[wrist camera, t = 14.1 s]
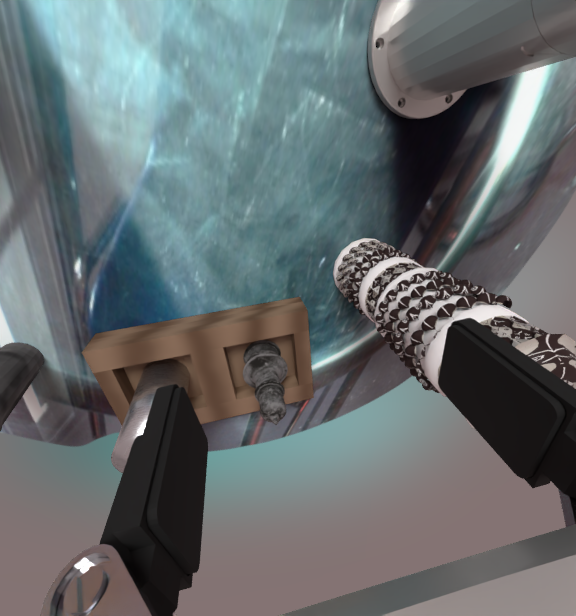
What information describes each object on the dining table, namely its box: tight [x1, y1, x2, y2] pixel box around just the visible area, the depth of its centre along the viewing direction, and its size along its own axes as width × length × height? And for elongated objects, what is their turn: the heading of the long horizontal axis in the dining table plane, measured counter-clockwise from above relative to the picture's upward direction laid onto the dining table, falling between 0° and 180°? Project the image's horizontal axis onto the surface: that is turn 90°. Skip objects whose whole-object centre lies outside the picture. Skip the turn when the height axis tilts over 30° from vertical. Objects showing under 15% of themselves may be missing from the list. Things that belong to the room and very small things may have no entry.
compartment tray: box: [82, 297, 314, 426], centre depth 39 cm, size 26×15×4 cm, turn 95°
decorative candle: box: [333, 238, 576, 429], centre depth 28 cm, size 9×9×25 cm
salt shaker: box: [243, 340, 288, 425], centre depth 35 cm, size 6×6×12 cm
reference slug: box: [111, 359, 190, 473], centre depth 33 cm, size 6×6×12 cm
